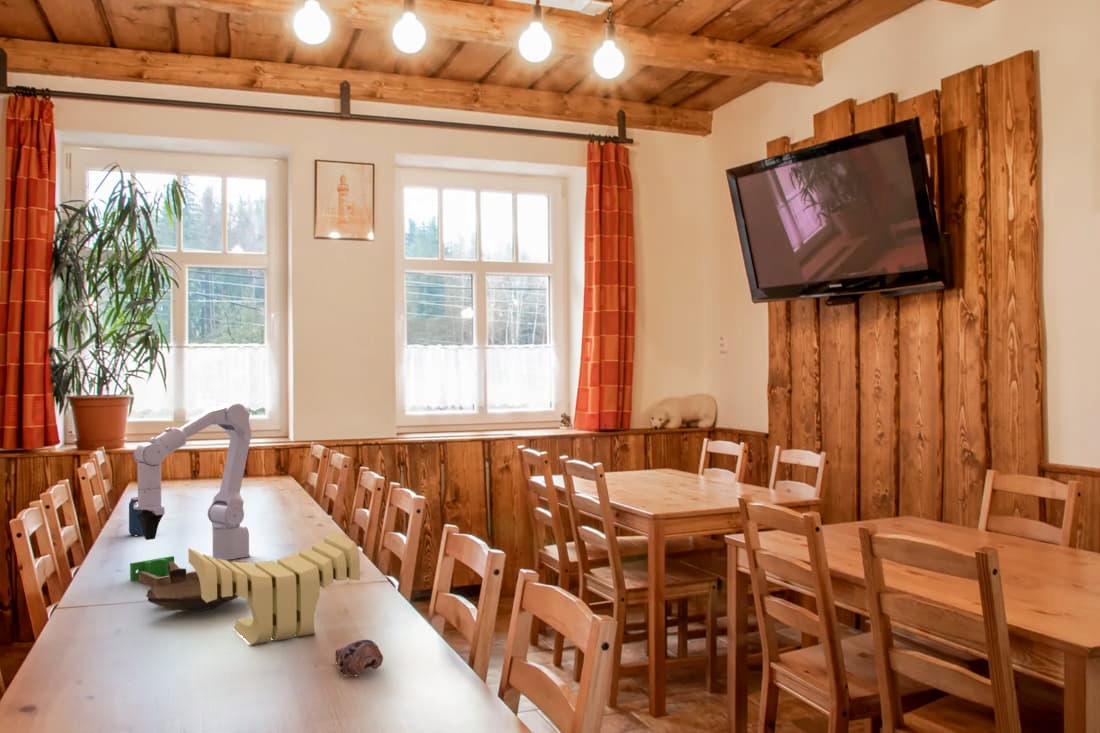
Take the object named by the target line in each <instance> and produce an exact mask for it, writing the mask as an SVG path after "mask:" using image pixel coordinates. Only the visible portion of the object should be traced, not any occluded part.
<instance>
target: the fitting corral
mask: <svg viewBox="0 0 1100 733" xmlns="http://www.w3.org/2000/svg"><path fill="white" fill-rule="evenodd" d="M186 579H187V580H188V581H193V580H199V577H198V574H197V572H196V570H193V571H186ZM138 582H139V583H141V582H142V584H143V583H144V585H146V586H148V587H150V586H151V587H150V588H156V587H159V586H164V585H168V584H171V580H170V575H169V574H168V576H163V577H158V576H155V575H153V574H150V573H148V572H145V571H141V572H139V580H138Z"/></svg>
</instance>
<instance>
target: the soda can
mask: <svg viewBox="0 0 1100 733" xmlns="http://www.w3.org/2000/svg"><path fill="white" fill-rule="evenodd" d="M136 502H138V496H137V497H136V496H135V497H132V498H130V501H129V503H128V533H129V535H144V533H143V529H142V526H141V523H140V521H139V519H138V517H137V516H136V514H137V513H142V512H143V510H140V509H139V510H137V509H133V506H136Z"/></svg>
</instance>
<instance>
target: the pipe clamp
mask: <svg viewBox="0 0 1100 733" xmlns="http://www.w3.org/2000/svg"><path fill="white" fill-rule="evenodd" d="M170 561H171V562H174V563H175V556H172V555H171V556H165V557H159V558H155V559H147V560H141V561H137V562H131V563H129V576H130V578H129V579H130V581H131V580H132V581H131V582H133V580H135V581H139V580H138V579H139V572H141V571H145V572H148V573H150V574H153V575H155V576H158V577H163V576H169V570H168V563H169V562H170Z"/></svg>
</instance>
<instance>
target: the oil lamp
mask: <svg viewBox="0 0 1100 733" xmlns="http://www.w3.org/2000/svg"><path fill="white" fill-rule="evenodd" d="M168 570H169V574H168V576H169V575H170V580H171V584H168V585H164V586H159V587H156V588H153V587H151V588H150V589H148V590H147V594H146V595H145V596H146V597H147V601H148V602H149V603H150V604H154V605H155V606H156V605H157V606H159V607H162V608H165V609H170V610H175V611H181V612H195V611H202V610H208V609H213V608H217V607H220V606H222V605H224V604H227V603H229V602H232V601H234V600H236V599H237V598H239V596H237V595H235V594H234V593H233V596H228V597H221V596H220V595H218V596H217V599H215V600H212V601H210V602H207V603H206V602H205V601H204V600H203V599H202V598H201V586H200V581H199V580H193V581H188V580H187V579H186V573H187V568H180V567H179V566H178V565H177V564H176V562H175V561H174V562H171V561H170V562H169V563H168Z"/></svg>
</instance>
